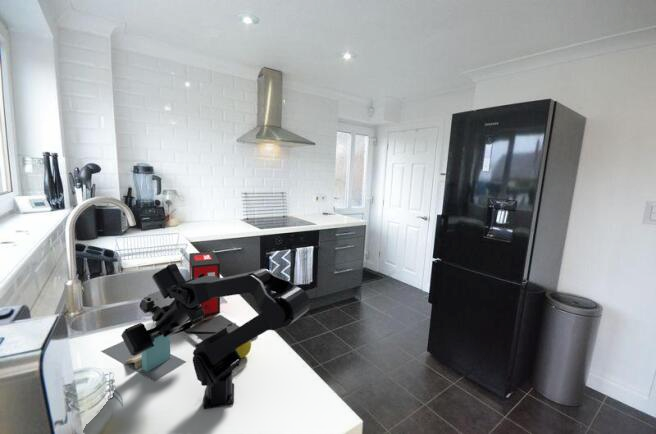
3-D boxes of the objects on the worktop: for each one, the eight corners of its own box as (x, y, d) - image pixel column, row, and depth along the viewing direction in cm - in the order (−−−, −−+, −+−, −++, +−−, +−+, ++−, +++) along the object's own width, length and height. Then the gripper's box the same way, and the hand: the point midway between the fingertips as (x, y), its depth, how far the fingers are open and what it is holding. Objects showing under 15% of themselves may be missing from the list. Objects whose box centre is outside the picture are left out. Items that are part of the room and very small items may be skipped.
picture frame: (178, 333, 96) (211, 361, 83) (178, 325, 95) (211, 352, 82) (222, 317, 108) (257, 339, 95) (222, 309, 107) (257, 331, 94)
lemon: (227, 357, 84) (227, 331, 82) (244, 349, 88) (244, 324, 87) (237, 366, 80) (237, 339, 79) (254, 358, 84) (255, 332, 83)
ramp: (166, 354, 84) (165, 344, 83) (137, 370, 76) (136, 359, 76) (154, 349, 86) (154, 339, 85) (125, 364, 79) (125, 353, 78)
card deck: (170, 358, 82) (169, 324, 80) (146, 371, 76) (145, 335, 74) (165, 355, 82) (164, 322, 81) (141, 369, 77) (140, 333, 75)
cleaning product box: (220, 316, 107) (219, 263, 104) (193, 321, 103) (192, 265, 100) (213, 298, 121) (213, 251, 119) (190, 302, 117) (189, 253, 114)
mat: (186, 363, 80) (186, 361, 80) (154, 382, 72) (154, 381, 72) (134, 337, 91) (134, 336, 91) (101, 352, 83) (101, 351, 83)
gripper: (195, 274, 82) (170, 302, 89) (124, 297, 66) (100, 329, 72) (215, 308, 80) (188, 334, 86) (147, 340, 63) (120, 370, 70)
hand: (152, 340), depth 79 cm, fingers closed on card deck, 6 cm apart
